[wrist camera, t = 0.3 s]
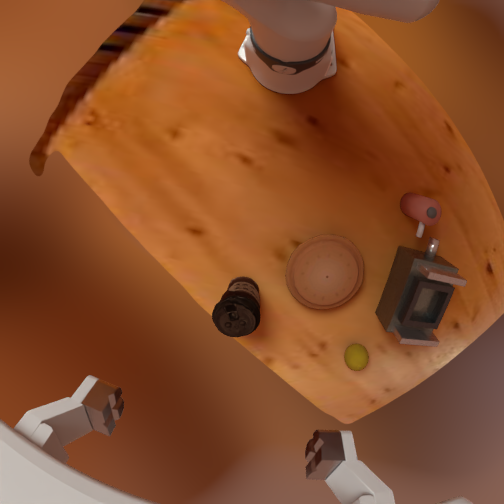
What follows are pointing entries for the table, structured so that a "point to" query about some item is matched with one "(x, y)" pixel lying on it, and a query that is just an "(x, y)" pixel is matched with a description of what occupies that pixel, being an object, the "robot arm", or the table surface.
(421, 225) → the pink cylinder with stub
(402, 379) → the table surface
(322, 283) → the pie
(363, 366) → the lemon
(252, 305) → the coffee cup
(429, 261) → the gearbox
